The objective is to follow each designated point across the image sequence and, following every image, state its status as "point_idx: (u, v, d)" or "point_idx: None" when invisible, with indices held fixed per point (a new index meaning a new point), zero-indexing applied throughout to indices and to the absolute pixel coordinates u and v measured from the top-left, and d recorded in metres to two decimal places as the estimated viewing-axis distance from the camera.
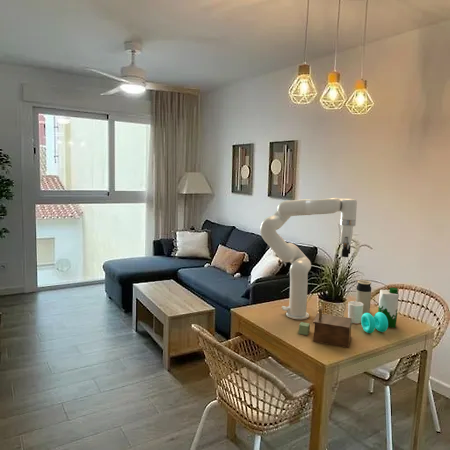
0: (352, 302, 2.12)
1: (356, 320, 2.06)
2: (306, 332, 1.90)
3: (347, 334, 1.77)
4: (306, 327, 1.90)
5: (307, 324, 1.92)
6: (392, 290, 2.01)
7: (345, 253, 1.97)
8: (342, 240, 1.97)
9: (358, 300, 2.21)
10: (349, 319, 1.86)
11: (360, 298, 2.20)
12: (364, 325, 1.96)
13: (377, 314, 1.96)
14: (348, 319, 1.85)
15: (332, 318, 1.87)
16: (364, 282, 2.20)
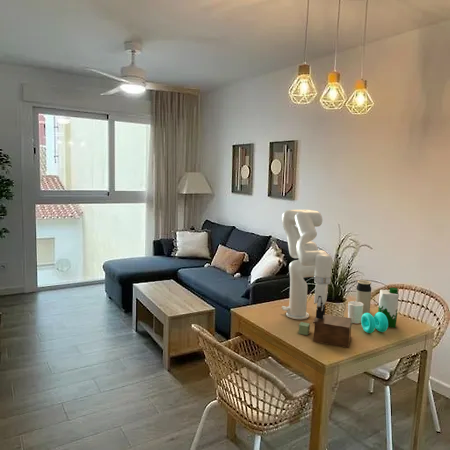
0: (352, 302, 2.12)
1: (356, 320, 2.06)
2: (306, 332, 1.90)
3: (347, 334, 1.77)
4: (306, 327, 1.90)
5: (307, 324, 1.92)
6: (392, 290, 2.01)
7: (319, 314, 1.83)
8: (316, 299, 1.82)
9: (358, 300, 2.21)
10: (349, 319, 1.86)
11: (360, 298, 2.20)
12: (364, 325, 1.96)
13: (377, 314, 1.96)
14: (348, 319, 1.85)
15: (332, 318, 1.87)
16: (364, 282, 2.20)
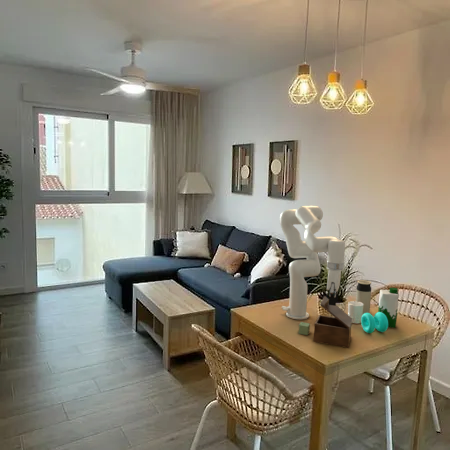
0: (352, 302, 2.12)
1: (356, 320, 2.06)
2: (306, 332, 1.90)
3: (347, 334, 1.77)
4: (306, 327, 1.90)
5: (307, 324, 1.92)
6: (392, 290, 2.01)
7: (332, 301, 1.80)
8: (328, 286, 1.79)
9: (358, 300, 2.21)
10: (350, 318, 1.86)
11: (360, 298, 2.20)
12: (364, 325, 1.96)
13: (377, 314, 1.96)
14: (349, 318, 1.85)
15: (336, 308, 1.86)
16: (364, 282, 2.20)
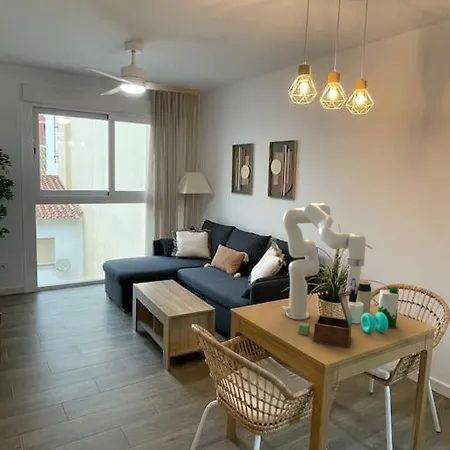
0: (352, 302, 2.12)
1: (356, 320, 2.06)
2: (306, 332, 1.90)
3: (347, 334, 1.77)
4: (306, 327, 1.90)
5: (307, 324, 1.92)
6: (392, 290, 2.01)
7: (353, 298, 1.76)
8: (349, 282, 1.75)
9: (358, 300, 2.21)
10: (351, 318, 1.85)
11: (360, 298, 2.20)
12: (364, 325, 1.96)
13: (377, 314, 1.96)
14: (351, 318, 1.85)
15: (346, 303, 1.84)
16: (364, 282, 2.20)
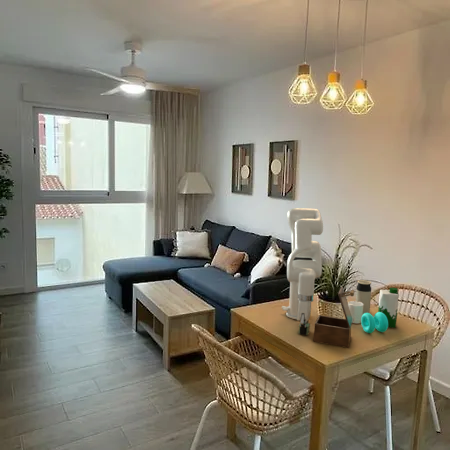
0: (352, 302, 2.12)
1: (356, 320, 2.06)
2: None
3: (347, 334, 1.77)
4: None
5: (307, 324, 1.92)
6: (392, 290, 2.01)
7: (303, 331, 1.89)
8: (299, 316, 1.88)
9: (358, 300, 2.21)
10: (351, 318, 1.85)
11: (360, 298, 2.20)
12: (364, 325, 1.96)
13: (377, 314, 1.96)
14: (351, 318, 1.85)
15: (346, 303, 1.84)
16: (364, 282, 2.20)
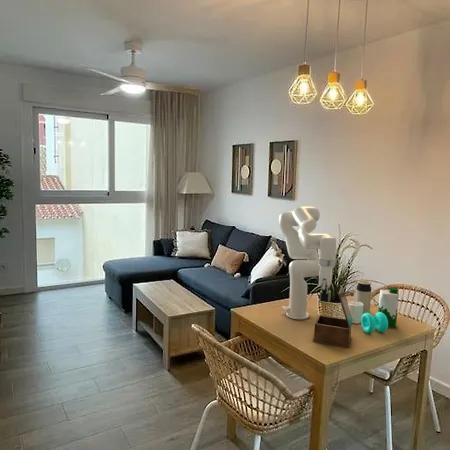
0: (352, 302, 2.12)
1: (356, 320, 2.06)
2: None
3: (347, 334, 1.77)
4: None
5: (328, 291, 1.84)
6: (392, 290, 2.01)
7: (324, 297, 1.82)
8: (320, 282, 1.80)
9: (358, 300, 2.21)
10: (351, 318, 1.85)
11: (360, 298, 2.20)
12: (364, 325, 1.96)
13: (377, 314, 1.96)
14: (351, 318, 1.85)
15: (346, 303, 1.84)
16: (364, 282, 2.20)
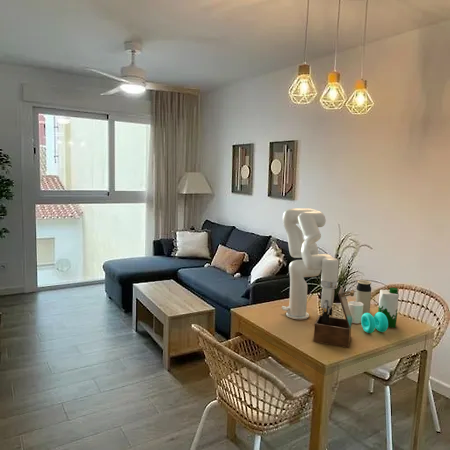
0: (352, 302, 2.12)
1: (356, 320, 2.06)
2: None
3: (347, 334, 1.77)
4: None
5: None
6: (392, 290, 2.01)
7: (325, 318, 1.80)
8: (322, 304, 1.81)
9: (358, 300, 2.21)
10: (351, 318, 1.85)
11: (360, 298, 2.20)
12: (364, 325, 1.96)
13: (377, 314, 1.96)
14: (351, 318, 1.85)
15: (346, 303, 1.84)
16: (364, 282, 2.20)
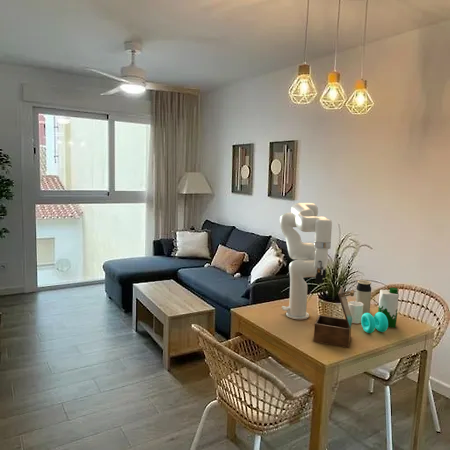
0: (352, 302, 2.12)
1: (356, 320, 2.06)
2: None
3: (347, 334, 1.77)
4: None
5: None
6: (392, 290, 2.01)
7: (319, 279, 1.79)
8: (316, 264, 1.80)
9: (358, 300, 2.21)
10: (351, 318, 1.85)
11: (360, 298, 2.20)
12: (364, 325, 1.96)
13: (377, 314, 1.96)
14: (351, 318, 1.85)
15: (346, 303, 1.84)
16: (364, 282, 2.20)
